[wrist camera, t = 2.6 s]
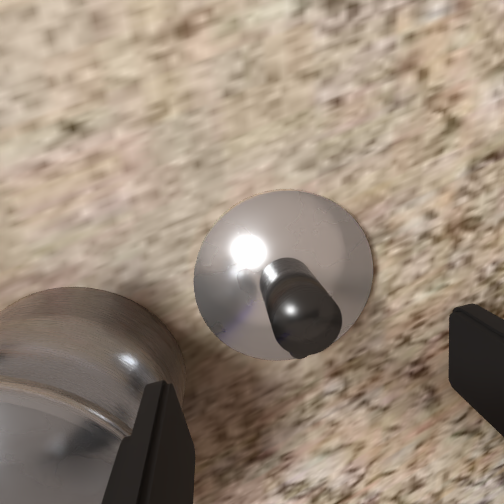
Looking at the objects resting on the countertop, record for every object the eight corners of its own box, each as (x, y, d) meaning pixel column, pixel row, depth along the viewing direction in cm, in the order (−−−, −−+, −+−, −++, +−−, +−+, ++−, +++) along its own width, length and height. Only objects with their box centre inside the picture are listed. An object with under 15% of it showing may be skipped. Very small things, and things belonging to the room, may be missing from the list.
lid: (356, 171, 18) (421, 177, 12) (370, 329, 22) (426, 393, 16) (174, 209, 18) (152, 234, 12) (217, 365, 21) (216, 444, 15)
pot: (142, 208, 17) (66, 255, 9) (220, 465, 23) (220, 641, 15) (-102, 259, 17) (-430, 361, 8) (42, 508, 23) (-65, 715, 14)
